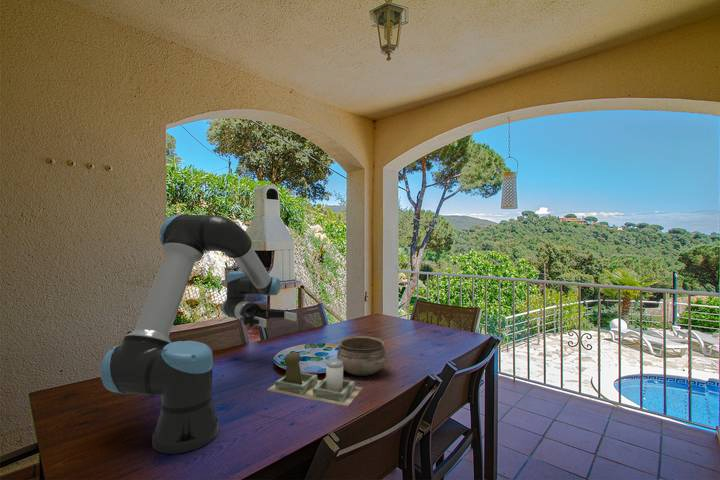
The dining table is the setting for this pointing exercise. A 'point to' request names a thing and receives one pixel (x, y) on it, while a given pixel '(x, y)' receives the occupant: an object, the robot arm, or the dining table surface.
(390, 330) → the dining table surface
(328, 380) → the salt shaker
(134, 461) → the dining table surface
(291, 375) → the pepper mill
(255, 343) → the dining table surface
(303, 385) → the condiment caddy
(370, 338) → the cooking pot
